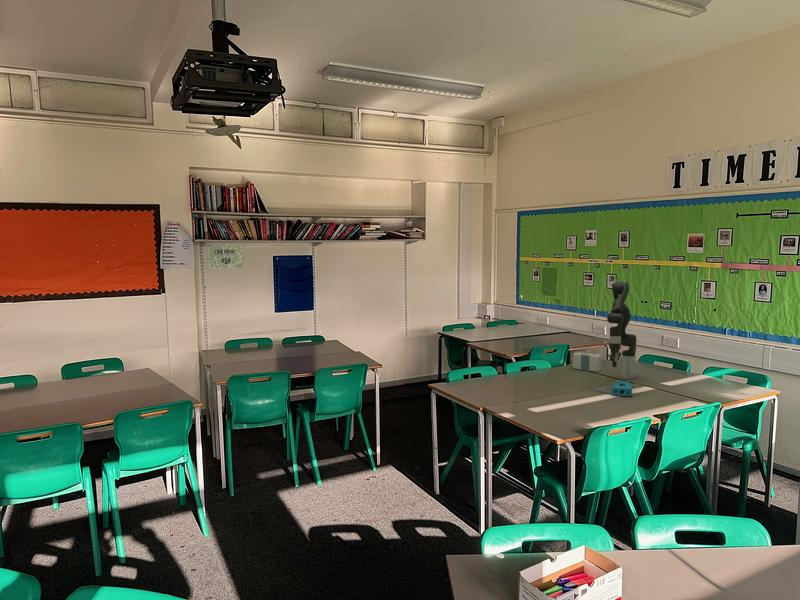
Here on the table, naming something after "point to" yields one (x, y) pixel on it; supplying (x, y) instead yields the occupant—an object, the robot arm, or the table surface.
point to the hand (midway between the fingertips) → (614, 366)
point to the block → (622, 388)
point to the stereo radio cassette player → (587, 361)
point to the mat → (604, 390)
